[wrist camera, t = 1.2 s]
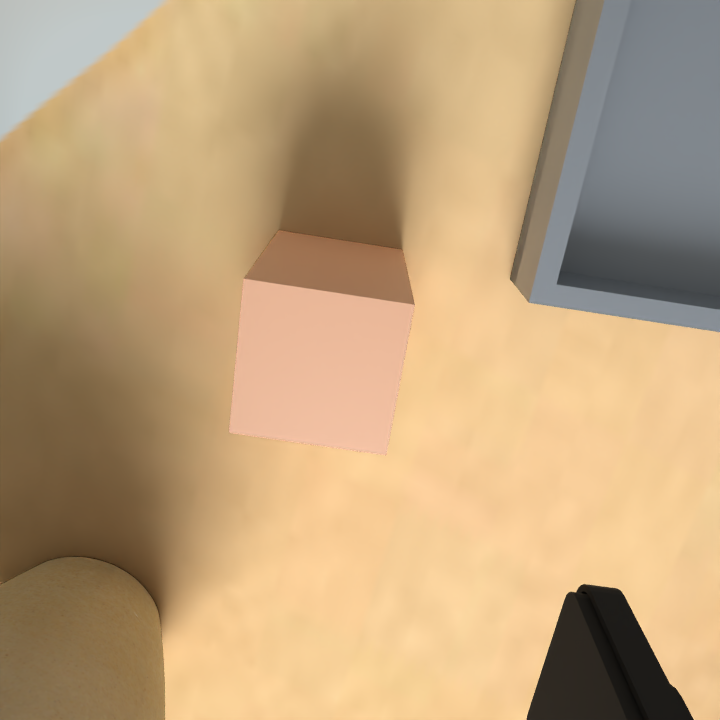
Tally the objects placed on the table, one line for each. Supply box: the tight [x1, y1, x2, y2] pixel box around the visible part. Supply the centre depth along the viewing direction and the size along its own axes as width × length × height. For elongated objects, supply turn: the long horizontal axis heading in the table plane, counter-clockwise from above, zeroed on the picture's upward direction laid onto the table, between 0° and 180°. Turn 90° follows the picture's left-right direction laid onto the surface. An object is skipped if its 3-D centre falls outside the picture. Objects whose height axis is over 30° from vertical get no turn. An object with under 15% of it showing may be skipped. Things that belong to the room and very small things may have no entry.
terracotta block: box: [229, 230, 415, 455], centre depth 24 cm, size 5×5×8 cm
